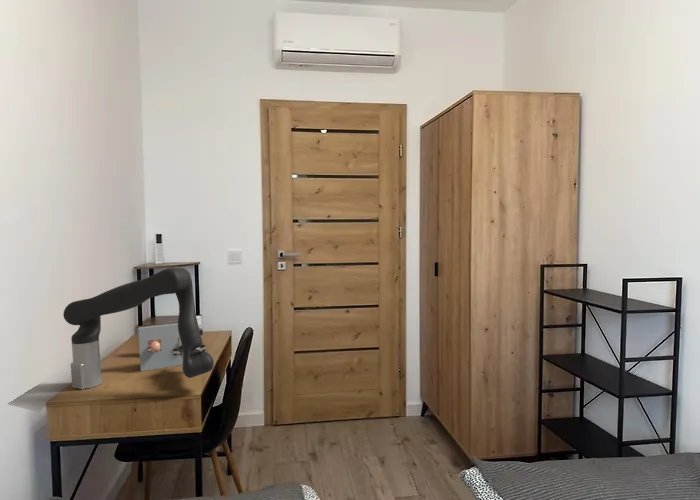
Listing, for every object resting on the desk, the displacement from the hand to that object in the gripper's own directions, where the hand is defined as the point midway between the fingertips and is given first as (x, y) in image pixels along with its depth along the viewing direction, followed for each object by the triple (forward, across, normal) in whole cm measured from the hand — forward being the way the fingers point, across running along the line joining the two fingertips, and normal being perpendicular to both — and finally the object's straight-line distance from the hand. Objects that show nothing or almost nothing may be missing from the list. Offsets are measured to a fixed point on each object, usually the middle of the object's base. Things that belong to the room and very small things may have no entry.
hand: (186, 345), depth 199 cm
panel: (+13, +6, +10) cm, 17 cm away
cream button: (+9, 0, +2) cm, 9 cm away
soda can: (+34, +13, +10) cm, 38 cm away
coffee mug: (+34, -8, +10) cm, 37 cm away
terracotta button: (+7, +12, +2) cm, 14 cm away
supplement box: (+55, -9, +10) cm, 56 cm away
